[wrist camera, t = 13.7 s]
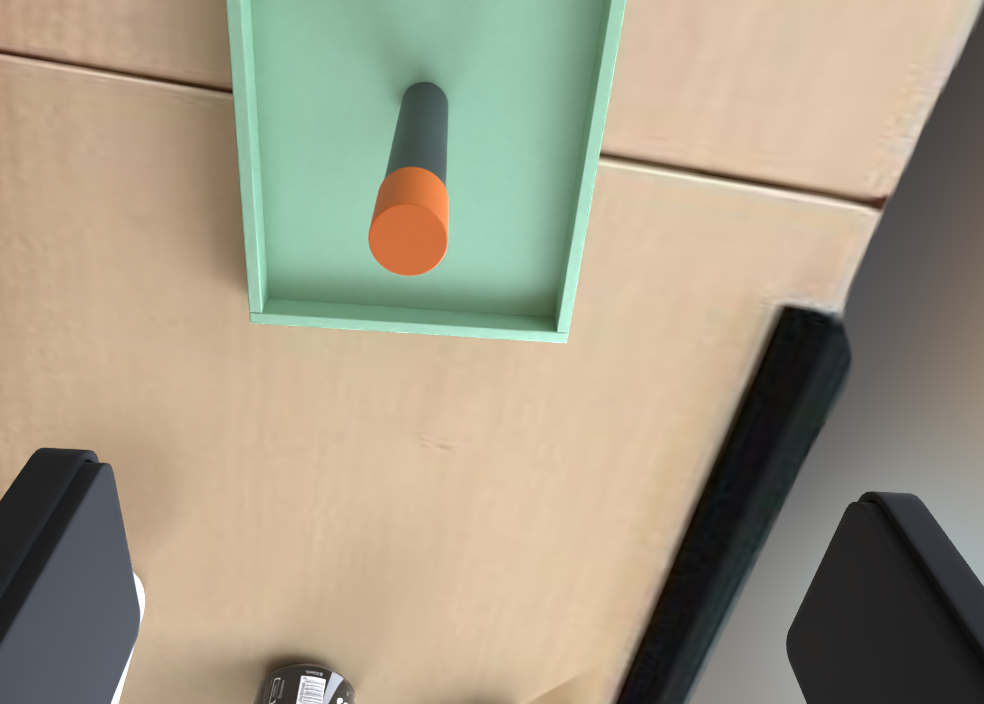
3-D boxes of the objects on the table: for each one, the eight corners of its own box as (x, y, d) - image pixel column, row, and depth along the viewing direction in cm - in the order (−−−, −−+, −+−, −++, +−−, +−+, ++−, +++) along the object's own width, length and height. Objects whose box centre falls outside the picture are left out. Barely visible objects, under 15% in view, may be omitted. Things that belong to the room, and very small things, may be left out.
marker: (400, 76, 33) (368, 200, 21) (452, 81, 33) (450, 206, 21) (398, 129, 34) (367, 274, 22) (449, 133, 34) (445, 279, 22)
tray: (223, -225, 28) (207, -230, 26) (644, -174, 29) (657, -176, 27) (259, 302, 39) (250, 323, 37) (562, 322, 40) (567, 343, 38)
